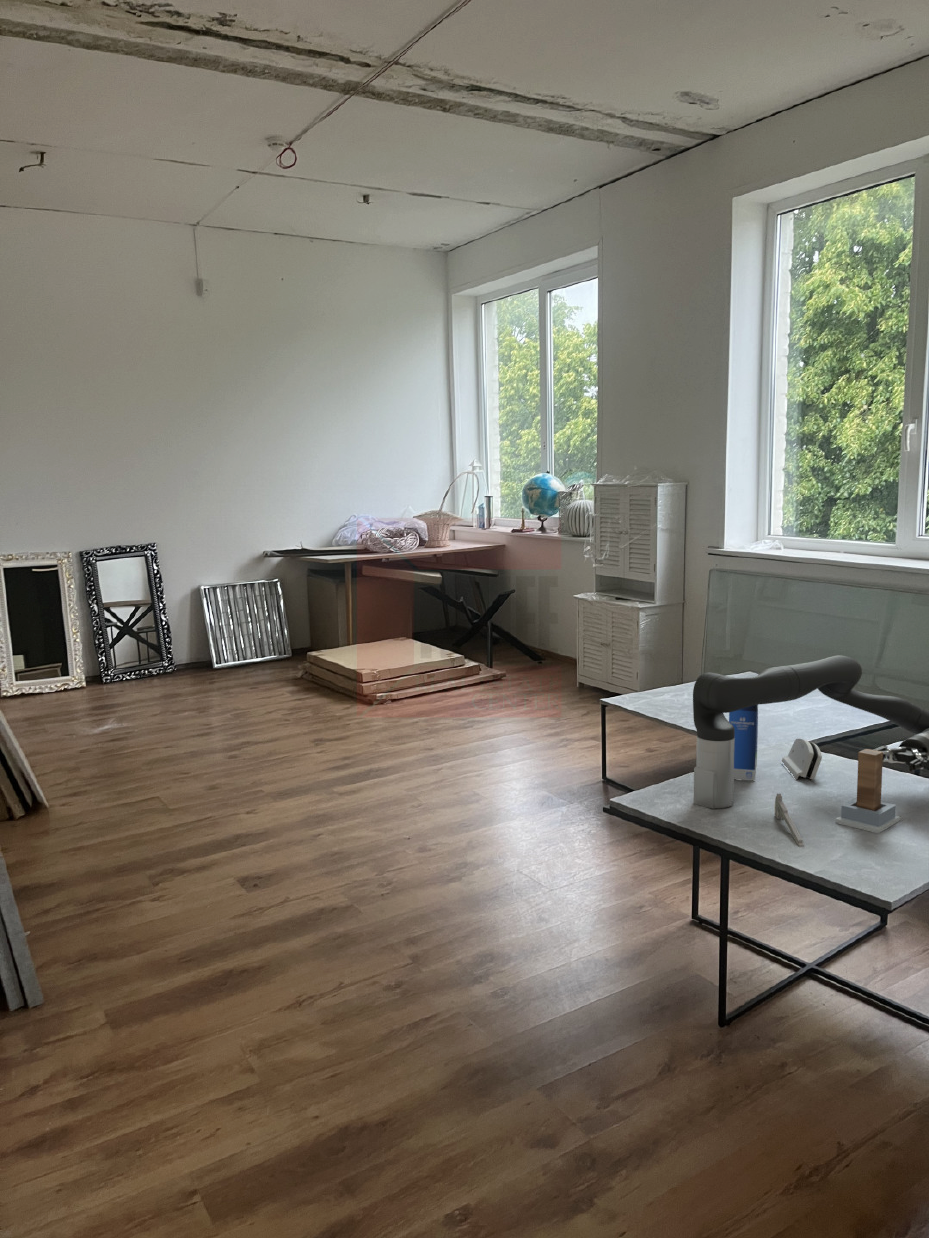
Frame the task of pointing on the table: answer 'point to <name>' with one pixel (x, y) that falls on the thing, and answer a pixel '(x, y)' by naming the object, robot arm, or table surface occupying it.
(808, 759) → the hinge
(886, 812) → the base
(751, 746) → the string lights box
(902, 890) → the table surface
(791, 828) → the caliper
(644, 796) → the table surface
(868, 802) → the walnut rail
